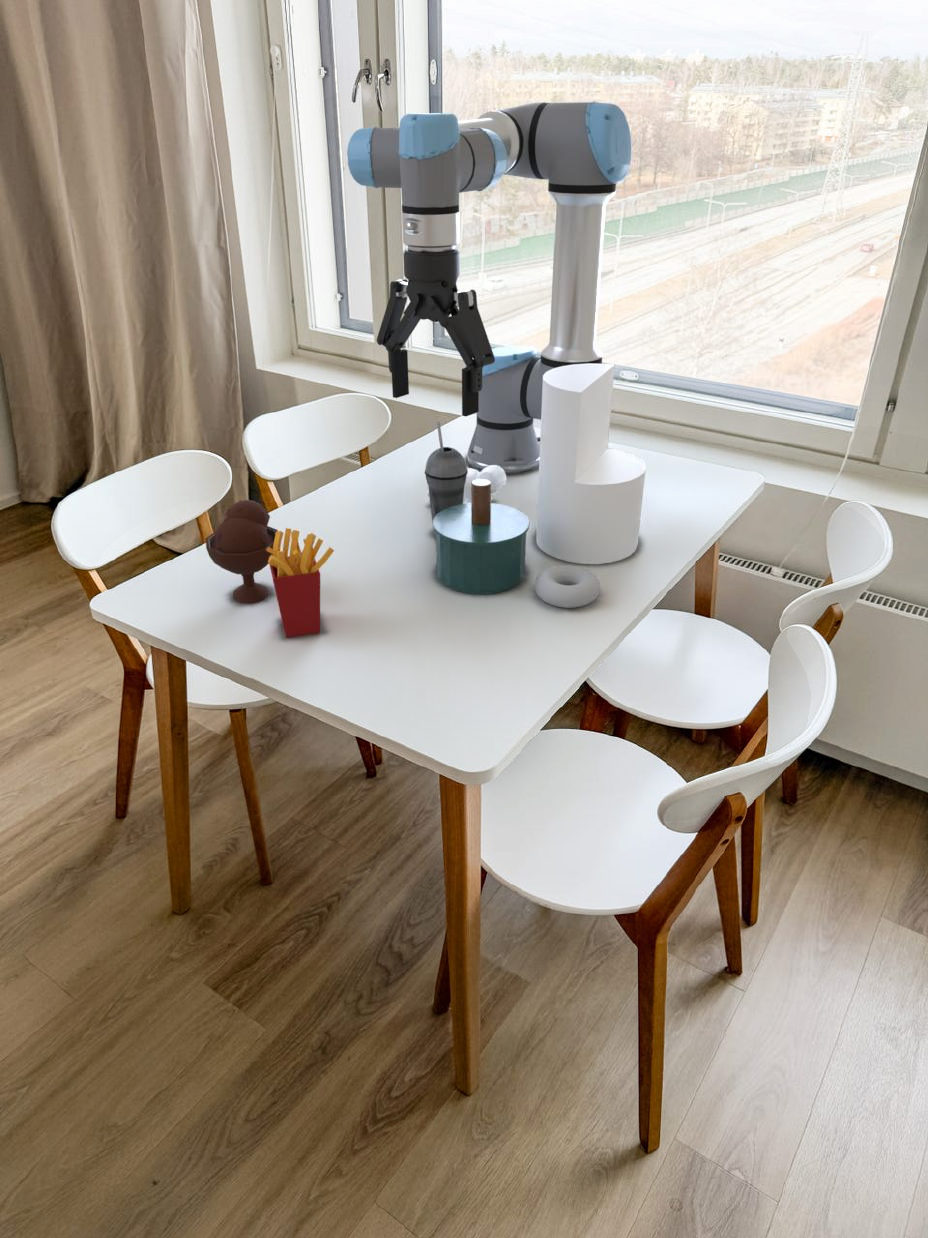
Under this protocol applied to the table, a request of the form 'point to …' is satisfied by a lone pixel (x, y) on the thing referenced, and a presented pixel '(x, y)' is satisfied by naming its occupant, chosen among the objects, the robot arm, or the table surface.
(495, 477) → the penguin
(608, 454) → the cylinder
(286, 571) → the french fries
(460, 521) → the tin lid
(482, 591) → the tin
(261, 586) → the ice cream bowl
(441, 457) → the beverage cup
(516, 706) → the table surface
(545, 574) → the donut
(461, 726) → the table surface
